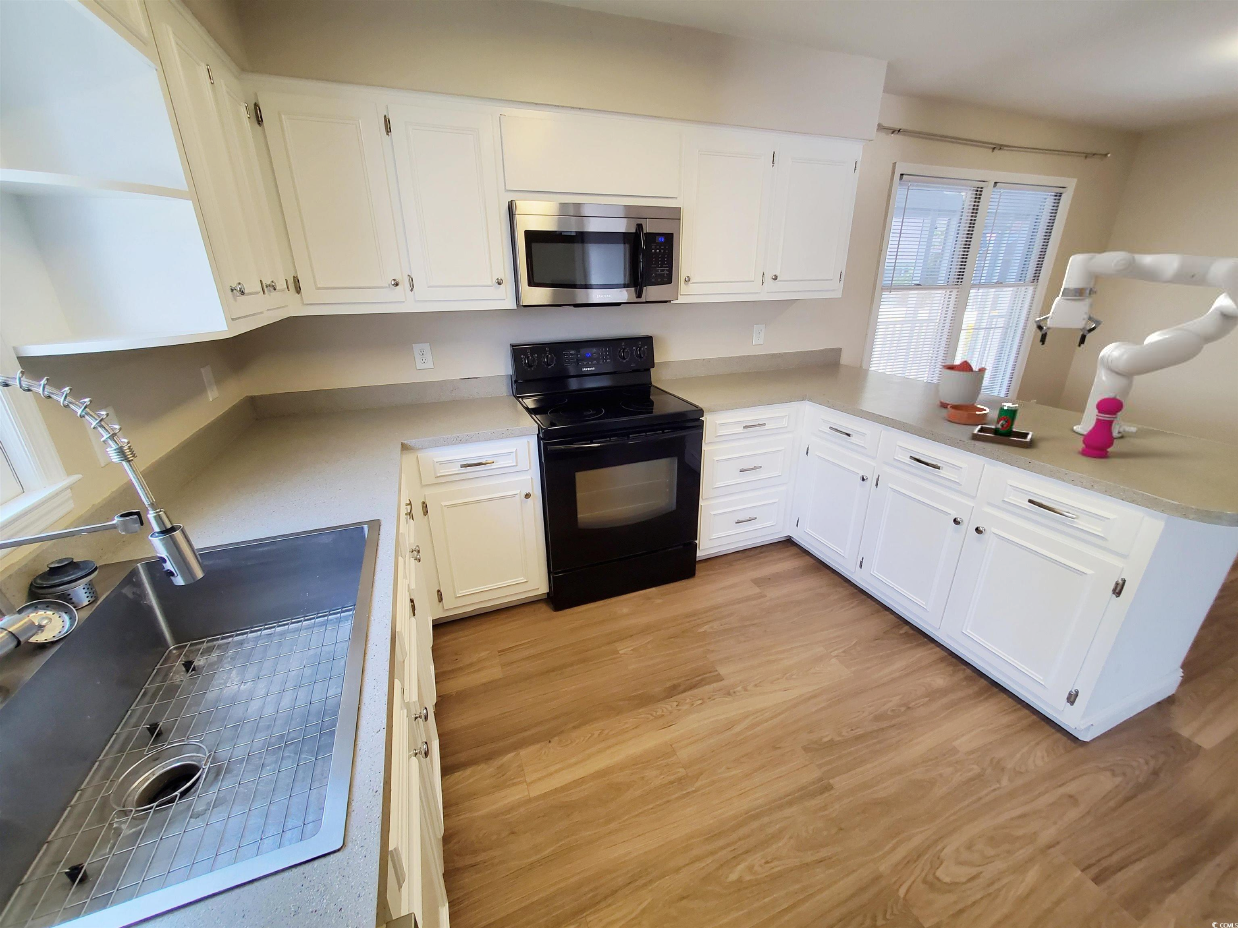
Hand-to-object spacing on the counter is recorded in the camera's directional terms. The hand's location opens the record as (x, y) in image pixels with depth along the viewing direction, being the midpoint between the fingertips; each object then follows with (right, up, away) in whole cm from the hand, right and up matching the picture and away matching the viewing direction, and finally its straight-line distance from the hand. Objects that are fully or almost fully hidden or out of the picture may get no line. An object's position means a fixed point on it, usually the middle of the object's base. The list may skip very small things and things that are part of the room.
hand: (1060, 345), depth 170 cm
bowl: (-16, -24, +24) cm, 37 cm away
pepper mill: (-2, -38, -14) cm, 41 cm away
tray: (-19, -33, +2) cm, 38 cm away
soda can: (-19, -32, +2) cm, 37 cm away
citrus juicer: (-6, -16, +43) cm, 47 cm away
